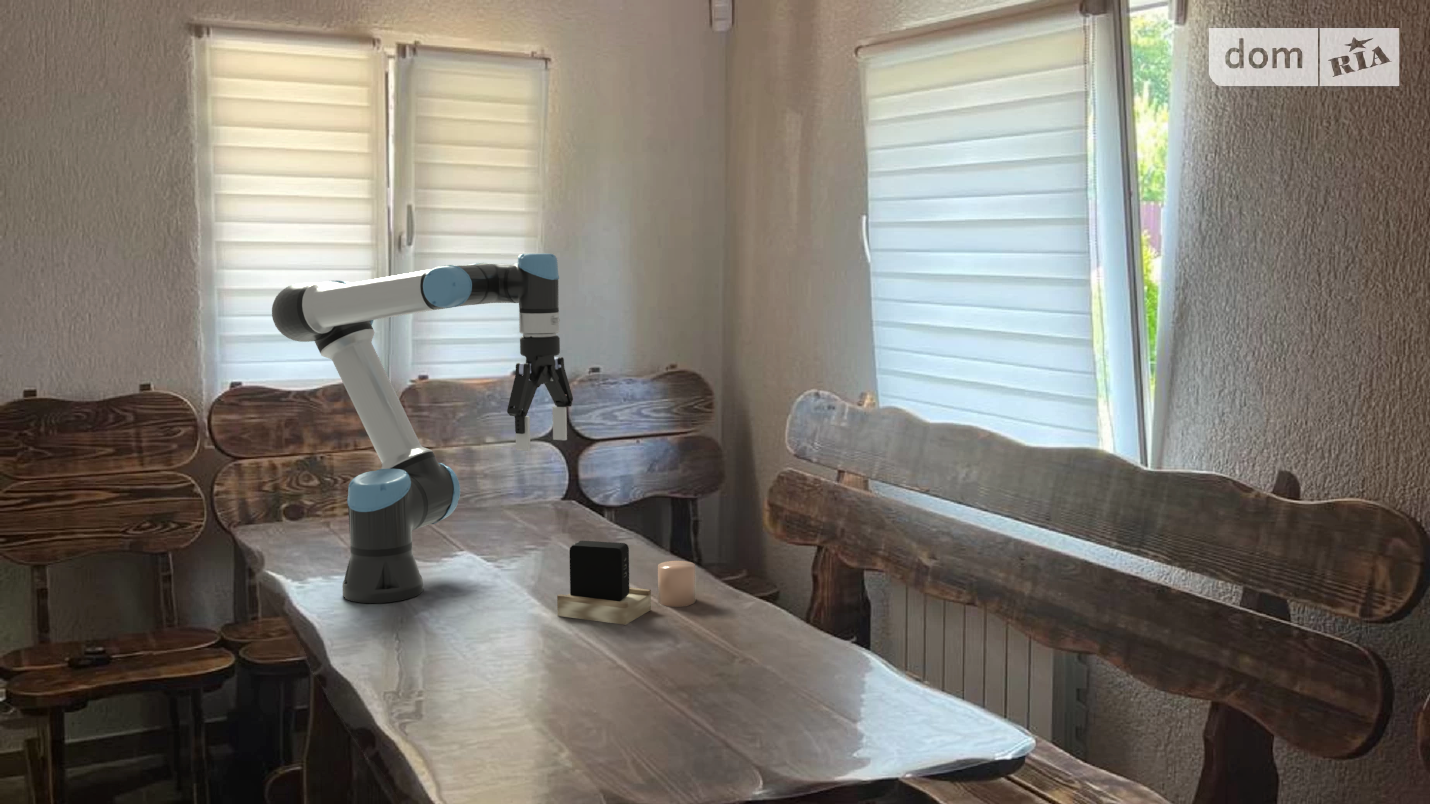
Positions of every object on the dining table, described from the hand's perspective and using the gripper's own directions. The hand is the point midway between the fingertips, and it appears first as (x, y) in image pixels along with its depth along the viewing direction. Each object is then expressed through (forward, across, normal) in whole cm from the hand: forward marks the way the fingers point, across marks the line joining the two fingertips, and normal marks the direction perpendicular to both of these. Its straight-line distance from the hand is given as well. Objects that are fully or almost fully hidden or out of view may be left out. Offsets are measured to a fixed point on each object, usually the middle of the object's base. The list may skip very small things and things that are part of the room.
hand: (542, 445), depth 251 cm
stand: (+29, -9, -18) cm, 35 cm away
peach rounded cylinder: (+29, +3, -27) cm, 40 cm away
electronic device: (+26, -10, -18) cm, 33 cm away
